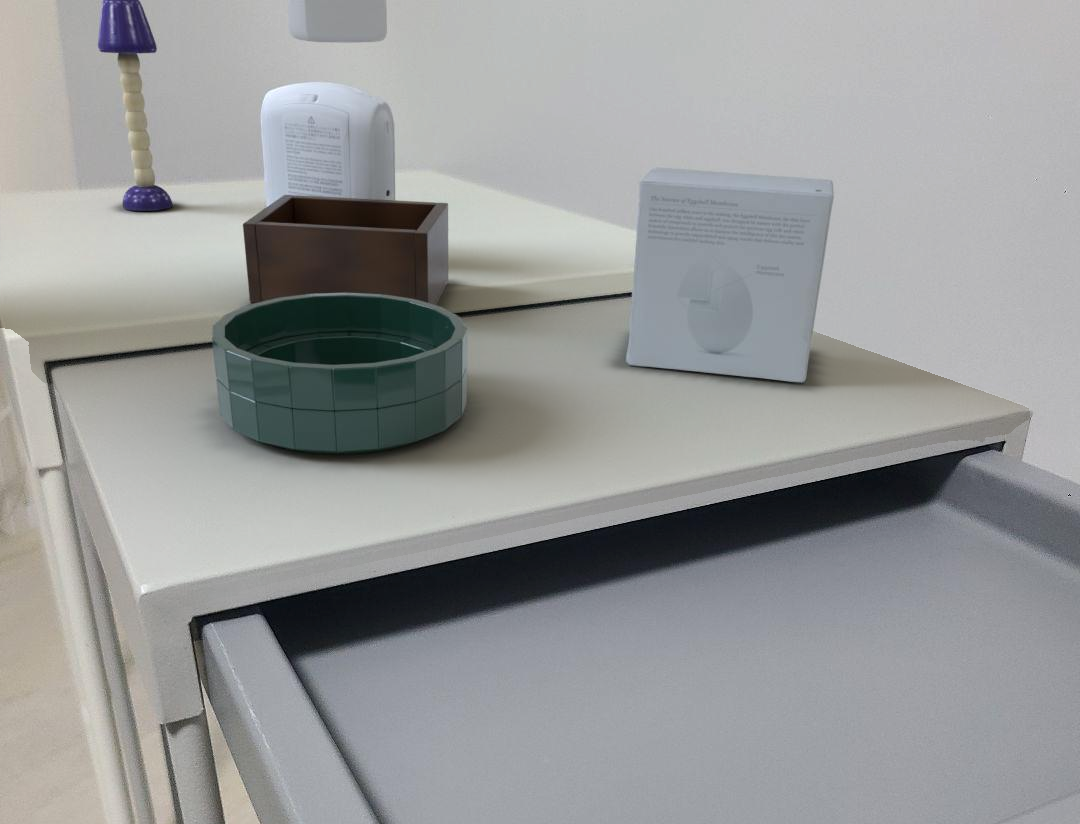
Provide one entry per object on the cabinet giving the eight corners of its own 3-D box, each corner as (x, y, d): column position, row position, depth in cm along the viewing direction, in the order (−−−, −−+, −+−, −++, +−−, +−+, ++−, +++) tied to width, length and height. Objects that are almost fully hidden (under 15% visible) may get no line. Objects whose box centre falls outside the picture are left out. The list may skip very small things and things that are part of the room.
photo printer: (405, 257, 83) (402, 85, 77) (379, 269, 80) (373, 90, 74) (291, 241, 86) (279, 75, 80) (261, 252, 83) (246, 79, 77)
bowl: (186, 453, 49) (173, 360, 47) (262, 366, 60) (254, 287, 58) (448, 468, 49) (447, 375, 47) (477, 378, 60) (478, 299, 58)
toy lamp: (112, 204, 96) (81, -4, 88) (161, 199, 99) (136, -3, 91) (135, 213, 93) (106, -1, 85) (185, 208, 96) (161, 0, 88)
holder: (250, 311, 69) (242, 223, 67) (289, 274, 78) (283, 194, 75) (428, 321, 69) (427, 233, 66) (448, 282, 77) (448, 202, 75)
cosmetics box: (806, 351, 66) (835, 175, 61) (805, 385, 61) (836, 195, 56) (639, 333, 68) (654, 161, 63) (623, 365, 63) (638, 179, 58)
